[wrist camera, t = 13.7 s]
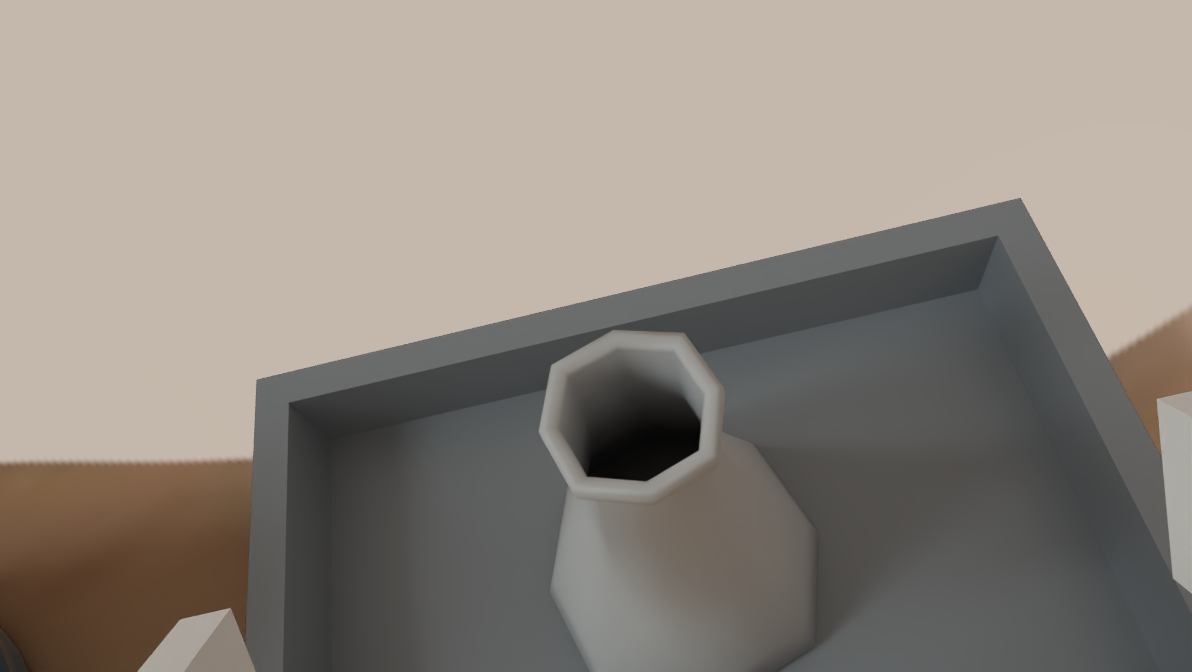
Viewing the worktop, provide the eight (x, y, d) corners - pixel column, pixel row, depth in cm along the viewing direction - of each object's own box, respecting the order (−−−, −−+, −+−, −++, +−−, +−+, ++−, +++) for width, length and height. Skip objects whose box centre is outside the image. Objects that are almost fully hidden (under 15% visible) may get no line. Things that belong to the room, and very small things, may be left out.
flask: (533, 470, 25) (409, 285, 17) (779, 413, 25) (782, 191, 16) (572, 740, 21) (439, 681, 13) (862, 678, 21) (924, 573, 12)
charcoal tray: (308, 949, 21) (231, 968, 18) (311, 427, 28) (256, 379, 25) (1241, 771, 19) (1325, 761, 16) (992, 269, 27) (1020, 197, 24)
